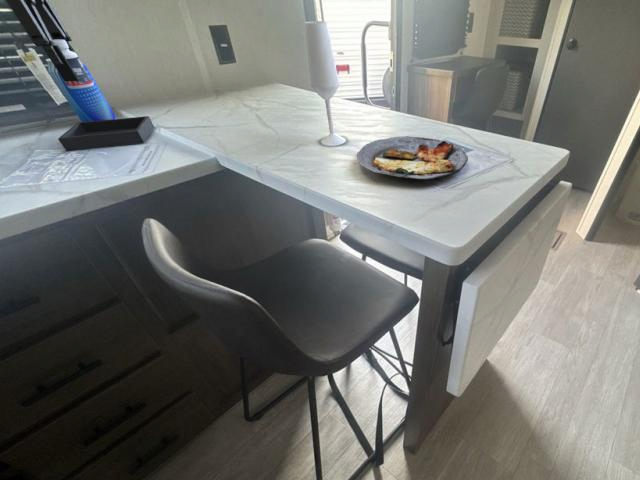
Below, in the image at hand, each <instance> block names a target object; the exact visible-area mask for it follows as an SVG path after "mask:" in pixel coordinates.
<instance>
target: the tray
mask: <svg viewBox="0 0 640 480" xmlns="http://www.w3.org/2000/svg"><path fill="white" fill-rule="evenodd" d="M152 123H153V120H151V118H150V116H149V115H146V116H135V117H123V118H116V119H110V120H99V121H87V122H81V121H78V122H76V123H75V124H73V126H71V127H70V128H69V129H68V130H66V131H65V132H64V133H63V134H61V136H59V137H57V140H58V142H59V143H60V144H61V146H62V147H63V148H64V149H65V151H66V152H70V151H71V152H72V151H73V152H74V151H82V150H90V149H92V150H93V149H101V148H110V147H111V148H113V147H118V146H119V147H121V146H129V145H141V144H145V143H146V141H147V140H148V138H149V137H150V136H151V134H152V132H153V131H154V129H155V128H156V127H155V125H154V123H153V124H152Z"/></svg>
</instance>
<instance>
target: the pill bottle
mask: <svg viewBox="0 0 640 480" xmlns="http://www.w3.org/2000/svg"><path fill="white" fill-rule="evenodd" d="M52 40H53V39H52ZM53 42H54V44H55V45H58V46H59V48H60V50H61V51H62V53H63V55H64V56H65V58H66V59H67V61H68V63H69V64H70V66H71V67H72V69H73V71H74V72H75V74H76V76H77V77H78V79H79V81H67V82H65V81H64V82H65V83H66V85H67V86H68V87H69V88H71V89H80V88H87V87H91V86H93V85H94V83H93V82H92V80H91V78H90V76H89V75H88V73H87V71H86V70H85V68H84V66H83V65H84V64H83V63H82V61H81V59H80V58H79V55H78V54H77V53H76V52H75V51H74V52H72V51H70V50H69V49H68V48H69V47H68V44H67V43H66V41H65V40H63V39H55V40H53ZM57 71H58V70H57ZM62 79H63V78H62Z"/></svg>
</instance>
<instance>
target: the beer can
mask: <svg viewBox="0 0 640 480" xmlns="http://www.w3.org/2000/svg"><path fill="white" fill-rule="evenodd" d="M45 62H46V63H47V72H48V74H49V75H50V77H51V78H52V79H53V82H54V83H55V84H56V86H57V87H58V89H59V90H60V92H61V93H62V95H63V96H64V98H65V99H66V101H67V102H68V104H69V105H70V107H71V108H72V110H73V111H74V113H75V114H76V116H77V117H78V119H79V120H80V122H87V121H99V120H110V119H117V116H116V115H115V113H114V112H113V110H112V107H111V106H110V104H109V103H108V100H107V99H106V98H105V96H104V94H103V92H102V91H101V89H100V87H99V85H98V84H97V82H96V80H95V79H94V77H93V75H92V73H91V72H90V70H89V68H88V67H87V66H86V65H85V64H83V66H84V68H85V70H86V71H87V73H88V75H89V76H90V78H91V80H92V82H93V83H94V85H93V86H91V87H87V88H80V89H71V88H69V87H68V86H67V85H66V83H65V82H64V80H63V79H62V77H61V75H60V74H59V72H58V71H57V69H56V67H55V66H54V64H53V63H52V61H51V60H50V58H46V59H45Z"/></svg>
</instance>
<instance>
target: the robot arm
mask: <svg viewBox="0 0 640 480" xmlns="http://www.w3.org/2000/svg"><path fill="white" fill-rule="evenodd" d="M5 2H6V3H7V5H8V6H9V8H10V9H11V11H12V13H13V14H14V16H15V17H16V18H17V20H18V21H19V23H20V25H21V26H22V28H23V29H24V31H25V33H26V34H27V35H28V37H29V39H30V40H31V42H32V43H33V45H34V46H35V47H41V48H42V49H43V51H44V52H45V53H46V55H47V57H48V59H50V60H51V61H52V63H53V64H54V66H55V67H56V69H57V70H58V72H59V74H60V75H61V77H62V78H63V80H64V81H65V82H67V81H79V79H78V77H77V76H76V74H75V72H74V71H73V69H72V67H71V66H70V64H69V63H68V61H67V59H66V58H65V56H64V55H63V53H62V51H61V50H60V48H59V46H58V45H55V44H54V42H53V40H55V39H63V40H65V41H66V43H67V44H68V47H69V48H68V49H69V50H70V51H72V52H74V53H75V50H74V48H72V46H71V44H70V43H69V42H72V41H73V39H72V37H71V36H70V34H69V32H68V31H67V29H66V28H65V26H64V24H63V23H62V21H61V19H60V17H59V16H58V14H57V12H56V11H55V9H54V8H53V6H52V4H51V2H50V0H5Z"/></svg>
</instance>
